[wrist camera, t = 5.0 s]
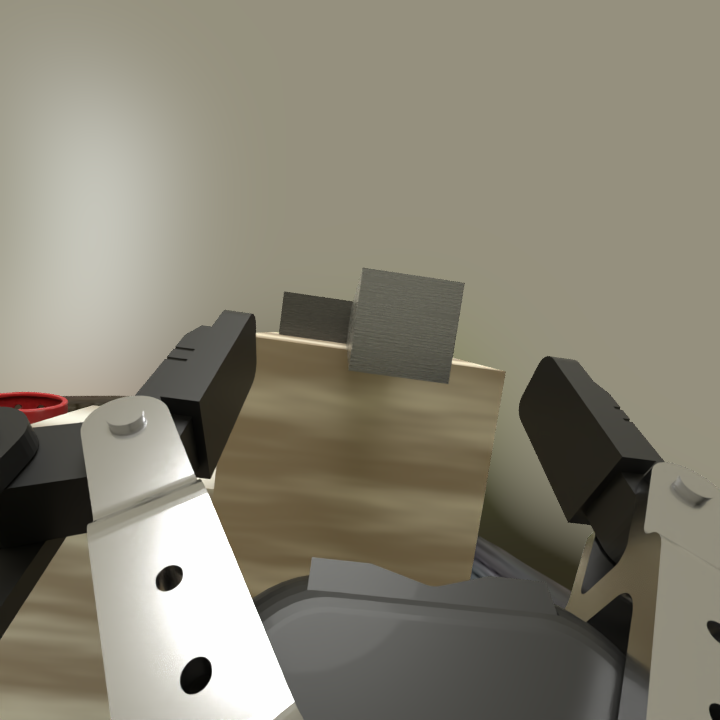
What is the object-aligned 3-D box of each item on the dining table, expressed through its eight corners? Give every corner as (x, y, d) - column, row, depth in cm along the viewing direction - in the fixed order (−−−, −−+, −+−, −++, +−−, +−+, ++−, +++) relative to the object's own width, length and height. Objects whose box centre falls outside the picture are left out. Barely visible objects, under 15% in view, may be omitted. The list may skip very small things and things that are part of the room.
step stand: (412, 914, 21) (505, 371, 19) (-97, 885, 20) (-67, 292, 17) (388, 704, 33) (443, 355, 31) (69, 676, 32) (101, 307, 29)
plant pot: (-54, 468, 63) (-51, 399, 62) (22, 445, 76) (26, 388, 75) (15, 480, 62) (20, 411, 61) (80, 455, 75) (85, 398, 74)
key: (630, 408, 9) (654, 290, 9) (150, 343, 9) (163, 215, 8) (436, 354, 29) (442, 317, 29) (285, 334, 29) (290, 295, 28)
